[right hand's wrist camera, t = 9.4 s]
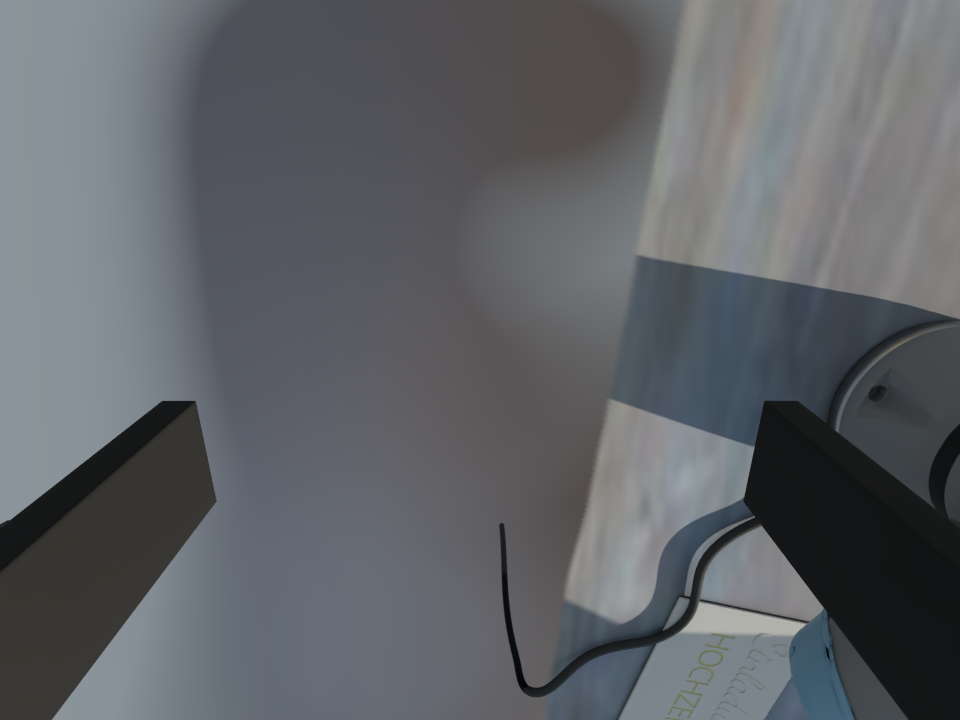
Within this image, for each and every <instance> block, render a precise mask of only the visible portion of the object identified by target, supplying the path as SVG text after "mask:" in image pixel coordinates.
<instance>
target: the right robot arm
mask: <svg viewBox="0 0 960 720" xmlns="http://www.w3.org/2000/svg"><path fill="white" fill-rule="evenodd" d="M215 503H216V497H215V492H214V487H213V482H212V477H211V473H210V468H209V463H208V458H207V454H206V449H205V444H204V439H203V434H202V430H201V425H200V420H199V415H198V410H197V405H196V401H162V402H161V403H159V404H158V405H157V406H155V407H154V408H153V409H152V410H150V411H149V412H148V413H146V414H145V415H144V416H143V417H141V418H140V419H139V420H137V421H136V422H135V423H134V424H132V425H131V426H130V427H129V428H127V429H126V430H125V431H124V432H122V433H121V434H120V435H118V436H117V437H116V438H115V439H113V440H112V441H111V442H110V443H108V444H107V445H106V446H104V447H103V448H102V449H101V450H99V451H98V452H97V453H95V454H94V455H93V456H92V457H90V458H89V459H88V460H86V461H85V462H84V463H83V464H81V465H80V466H79V467H78V468H76V469H75V470H74V471H72V472H71V473H70V474H69V475H67V476H66V477H65V478H64V479H62V480H61V481H60V482H58V483H57V484H56V485H55V486H53V487H52V488H51V489H49V490H48V491H47V492H46V493H44V494H43V495H42V496H41V497H39V498H38V499H37V500H35V501H34V502H33V503H32V504H30V505H29V506H28V507H26V508H25V509H24V510H23V511H21V512H20V513H19V514H18V515H16V516H15V517H14V518H12V519H11V520H8V521H6V522H4V523H2V524H0V720H52V719H53V717H54V716H55V715H56V713H57V712H58V711H59V709H60V708H61V707H62V705H63V704H64V703H65V701H66V700H67V699H68V697H69V696H70V695H71V693H72V692H73V691H74V689H75V688H76V687H77V685H78V684H79V683H80V681H81V680H82V679H83V678H84V676H85V675H86V674H87V672H88V671H89V669H90V668H91V667H92V666H93V664H94V663H95V662H96V660H97V659H98V658H99V656H100V655H101V654H102V652H103V651H104V650H105V648H106V647H107V646H108V644H109V643H110V642H111V640H112V639H113V638H114V636H115V635H116V634H117V632H118V631H119V630H120V629H121V627H122V626H123V625H124V623H125V622H126V620H127V619H128V618H129V617H130V615H131V614H132V612H133V611H134V610H135V609H136V607H137V606H138V605H139V603H140V602H141V601H142V599H143V598H144V597H145V595H146V594H147V593H148V591H149V590H150V589H151V587H152V586H153V585H154V583H155V582H156V581H157V579H158V578H159V577H160V575H161V574H162V573H163V571H164V570H165V569H166V568H167V566H168V565H169V563H170V562H171V561H172V560H173V558H174V557H175V556H176V554H177V553H178V552H179V550H180V549H181V548H182V546H183V545H184V544H185V542H186V541H187V540H188V538H189V537H190V536H191V534H192V533H193V532H194V530H195V529H196V528H197V526H198V525H199V524H200V522H201V521H202V520H203V518H204V517H205V516H206V514H207V513H208V512H209V511H210V509H211V508H212V507H213V505H214V504H215ZM744 503H745V504H746V505H747V507H748V508H749V509H750V511H751V512H752V513H753V515H754V516H755V518H753V519H751V520H749V521H747V522H745V523H742V524H741V525H739V526H737V527H735V528H733V529H732V530H730V531H728V532H727V533H725V534H724V535H723V536H721V537H720V538H719V539H718V540H716V541H715V542H714V543H713V544H712V545H711V546H710V547H709V548H708V549H707V551H706V552H705V553H704V554H703V556H702V558H701V559H700V561H699V563H698V565H697V568H696V571H695V575H694V579H693V585H692V591H691V597H690V601H689V604H688V607H687V609H686V611H685V613H684V614H683V616H682V617H681V618H680V619H679V620H678V621H677V622H676V623H675V624H674V625H672V626H671V627H669V628H668V629H666V630H664V631H662V632H659V633H657V634H653V635H650V636H646V637H641V638H635V639H629V640H623V641H617V642H612V643H608V644H605V645H601V646H598V647H596V648H593V649H591V650H589V651H587V652H585V653H583V654H582V655H581V656H579V657H578V658H576V659H575V660H574V661H573V662H571V663H570V664H569V665H568V666H567V667H566V668H565V669H564V670H563V671H562V672H561V673H560V674H559V675H558V676H556V677H555V678H554V679H553V680H552V681H551V682H549V683H548V684H546V685H545V686H543V687H539V688H533V687H530V686H528V684H527V683H526V681H525V679H524V676H523V671H522V666H521V661H520V657H519V653H518V649H517V645H516V641H515V636H514V631H513V626H512V619H511V612H510V604H509V592H508V575H507V553H506V537H505V527H504V524H503V523H500V524H499V529H500V544H501V574H502V595H503V607H504V616H505V623H506V630H507V635H508V640H509V645H510V649H511V653H512V658H513V662H514V667H515V673H516V678H517V682H518V685H519V687H520V689H521V690H522V691H523V692H524V693H525V694H527V695H528V696H531V697H542V696H545V695H547V694H550V693H551V692H553V691H554V690H556V689H557V688H558V687H559V686H560V685H561V684H563V683H564V682H565V681H566V680H567V679H568V678H569V677H570V676H571V675H572V674H573V673H574V672H575V671H576V670H578V669H579V668H580V667H581V666H583V665H584V664H585V663H587V662H588V661H590V660H592V659H594V658H596V657H599V656H601V655H604V654H607V653H611V652H615V651H620V650H626V649H632V648H638V647H644V646H649V645H653V644H656V643H660V642H662V641H665V640H667V639H669V638H671V637H673V636H675V635H676V634H678V633H679V632H680V631H682V630H683V629H684V628H685V627H686V626H687V625H688V624H689V623H690V621H691V620H692V619H693V617H694V615H695V613H696V611H697V608H698V605H699V601H700V595H701V589H702V584H703V579H704V576H705V572H706V570H707V568H708V566H709V564H710V563H711V561H712V560H713V558H714V557H715V556H716V555H717V554H718V553H719V552H720V551H721V550H722V549H723V548H724V547H725V546H727V545H728V544H729V543H731V542H732V541H733V540H735V539H737V538H738V537H740V536H742V535H744V534H745V533H747V532H749V531H752V530H754V529H756V528H758V527H760V526H763V528H764V529H765V530H766V532H767V533H768V534H769V536H770V537H771V538H772V540H773V541H774V542H775V544H776V545H777V546H778V548H779V549H780V550H781V552H782V553H783V554H784V556H785V557H786V558H787V560H788V561H789V562H790V564H791V565H792V566H793V568H794V569H795V570H796V572H797V573H798V574H799V575H800V577H801V578H802V579H803V581H804V582H805V583H806V585H807V586H808V587H809V589H810V590H811V591H812V593H813V594H814V595H815V597H816V598H817V599H818V601H819V602H820V603H821V605H822V606H823V607H824V609H823V611H822V612H821V613H820V614H819V615H817V616H816V617H815V618H814V619H813V620H811V621H810V622H809V623H808V624H806V625H805V626H804V627H803V628H801V629H800V630H799V631H798V632H797V633H796V634H795V635H794V637H793V639H792V641H791V643H790V647H789V662H790V672H791V675H792V679H793V682H794V685H795V688H796V691H797V694H798V696H799V699H800V701H801V703H802V705H803V708H804V710H805V712H806V714H807V716H808V718H809V720H960V321H940V322H932V323H928V324H923V325H920V326H916V327H913V328H910V329H908V330H905V331H903V332H901V333H898V334H896V335H894V336H892V337H891V338H889V339H887V340H885V341H884V342H882V343H881V344H879V345H878V346H876V347H875V348H874V349H872V350H871V351H870V352H869V353H867V354H866V355H865V356H864V357H863V358H862V359H861V360H860V361H859V362H858V363H857V364H856V365H855V366H854V367H853V368H852V370H851V371H850V372H849V374H848V375H847V376H846V378H845V379H844V381H843V382H842V384H841V385H840V387H839V389H838V391H837V393H836V395H835V398H834V400H833V403H832V406H831V410H830V415H829V422H828V424H826V423H825V422H824V421H823V420H821V419H820V418H819V417H817V416H816V415H815V414H814V413H812V412H811V411H810V410H808V409H807V408H806V407H805V406H803V405H802V404H801V403H800V402H798V401H764V405H763V410H762V415H761V420H760V425H759V429H758V434H757V439H756V444H755V449H754V453H753V458H752V463H751V468H750V473H749V477H748V482H747V487H746V492H745V497H744Z"/></svg>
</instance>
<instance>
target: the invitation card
mask: <svg viewBox="0 0 960 720" xmlns="http://www.w3.org/2000/svg"><path fill="white" fill-rule="evenodd" d="M689 601H690V599H688V598H684V597H679V599H678V601H677V603H676V605H675V607H674V608H673V610H672V612H671V614H670V616H669V618H668V620H667V622H666V624H665V626H664V628H663V630H662V631H664V630H666V629H668V628H669V627H671V626H672V625H674V624H675V623H676V622H677V621H678V620H679V619H680V618H681V617H682V616H683V614H684V613H685V611H686V609H687V607H688V604H689ZM806 624H808V623H805V622H800V621H795V620H790V619H785V618H780V617H776V616H771V615H766V614H761V613H756V612H751V611H747V610H742V609H737V608H732V607H727V606H722V605H718V604H713V603H708V602H703V601H699V605H698V608H697V611H696V613H695V615H694V617H693V619H692V620H691V621H690V623H689V624H688V625H687V626H686V627H685V628H684V629H683V630H682V631H680V632H679V633H678V634H676V635H675V636H673V637H671V638H669V639H667V640H665V641H662V642H660V643H656V644H655V646H654V648H653V650H652V652H651V654H650V656H649V658H648V660H647V662H646V664H645V666H644V668H643V670H642V672H641V674H640V676H639V678H638V680H637V682H636V684H635V686H634V688H633V690H632V692H631V694H630V696H629V698H628V700H627V702H626V704H625V706H624V708H623V710H622V712H621V714H620V716H619V718H618V720H764V719H765V717H766V715H767V714H768V712H769V711H770V709H771V708H772V706H773V705H774V703H775V701H776V700H777V698H778V697H779V695H780V694H781V692H782V691H783V689H784V687H785V686H786V684H787V683H788V681H789V680H790V678H791V676H792V675H791V672H790V662H789V647H790V643H791V641H792V639H793V637H794V635H795V634H796V633H797V632H798V631H799V630H800V629H801V628H803V627H804V626H805V625H806Z"/></svg>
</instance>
